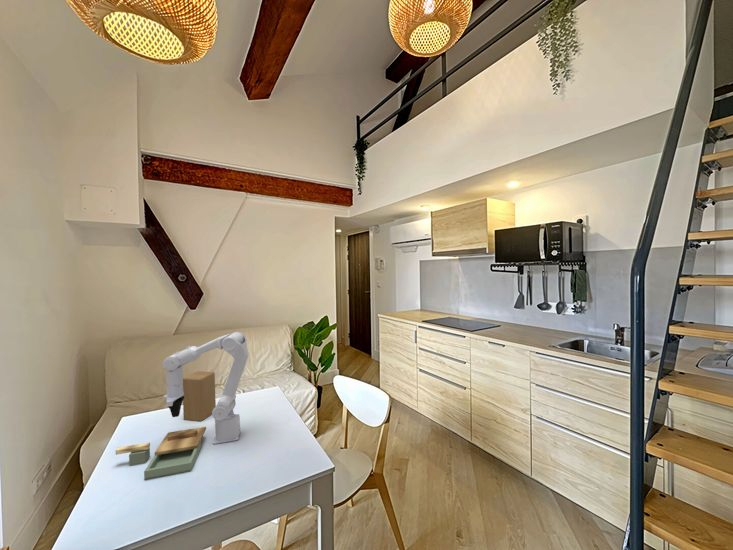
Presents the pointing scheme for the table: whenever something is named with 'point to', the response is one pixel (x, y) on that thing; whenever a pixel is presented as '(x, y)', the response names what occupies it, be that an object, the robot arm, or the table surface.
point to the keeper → (139, 457)
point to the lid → (181, 440)
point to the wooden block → (198, 395)
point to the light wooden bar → (132, 448)
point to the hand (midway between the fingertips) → (175, 416)
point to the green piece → (171, 463)
